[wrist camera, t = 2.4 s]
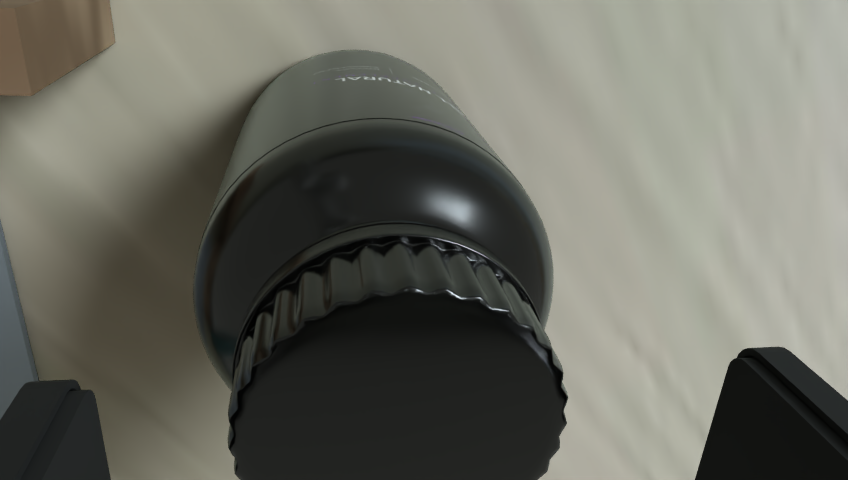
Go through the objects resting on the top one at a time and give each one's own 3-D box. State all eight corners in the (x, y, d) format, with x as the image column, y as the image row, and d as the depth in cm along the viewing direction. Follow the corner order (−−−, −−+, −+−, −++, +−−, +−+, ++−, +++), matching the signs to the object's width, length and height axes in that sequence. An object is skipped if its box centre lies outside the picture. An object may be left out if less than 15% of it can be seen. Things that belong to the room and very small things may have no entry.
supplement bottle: (426, 9, 18) (608, 128, 7) (487, 219, 21) (676, 514, 11) (193, 91, 18) (37, 332, 7) (288, 290, 21) (276, 660, 10)
